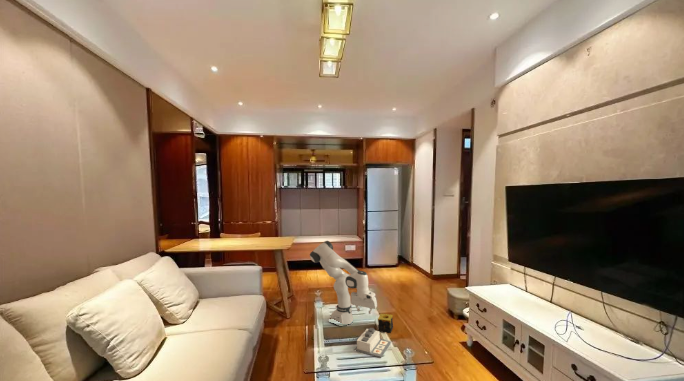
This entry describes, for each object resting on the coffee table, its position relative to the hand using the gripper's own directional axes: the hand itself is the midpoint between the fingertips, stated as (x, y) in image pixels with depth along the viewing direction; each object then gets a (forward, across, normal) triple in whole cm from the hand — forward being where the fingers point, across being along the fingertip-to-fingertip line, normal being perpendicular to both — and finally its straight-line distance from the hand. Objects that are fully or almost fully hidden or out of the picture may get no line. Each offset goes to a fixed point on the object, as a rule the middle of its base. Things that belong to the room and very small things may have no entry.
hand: (364, 312), depth 191 cm
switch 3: (+18, +5, -5) cm, 19 cm away
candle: (+21, +8, +20) cm, 30 cm away
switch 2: (+18, +5, +1) cm, 18 cm away
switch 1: (+19, +5, -11) cm, 22 cm away
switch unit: (+21, +8, -5) cm, 23 cm away
